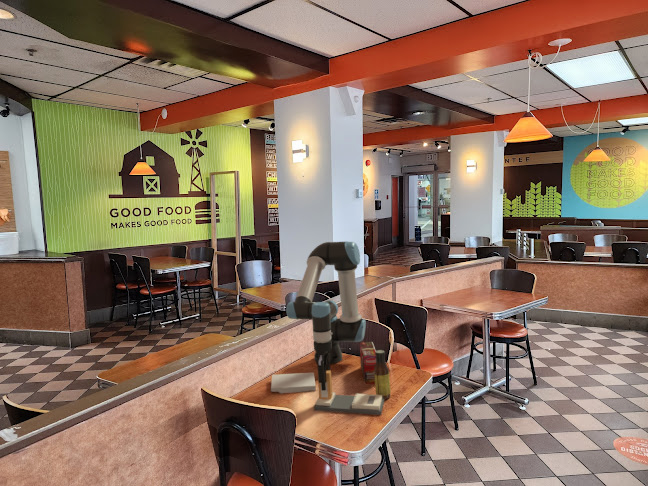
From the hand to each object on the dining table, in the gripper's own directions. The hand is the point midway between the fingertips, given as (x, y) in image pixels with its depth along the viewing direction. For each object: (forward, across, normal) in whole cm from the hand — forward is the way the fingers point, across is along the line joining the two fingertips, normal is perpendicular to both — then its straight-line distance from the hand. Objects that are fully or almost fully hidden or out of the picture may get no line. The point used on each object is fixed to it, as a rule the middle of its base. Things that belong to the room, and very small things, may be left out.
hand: (325, 394), depth 179 cm
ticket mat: (+4, 0, -10) cm, 11 cm away
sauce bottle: (+4, +10, -23) cm, 25 cm away
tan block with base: (+2, 0, 0) cm, 2 cm away
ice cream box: (+4, +32, -14) cm, 35 cm away
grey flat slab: (+5, +16, +20) cm, 26 cm away
